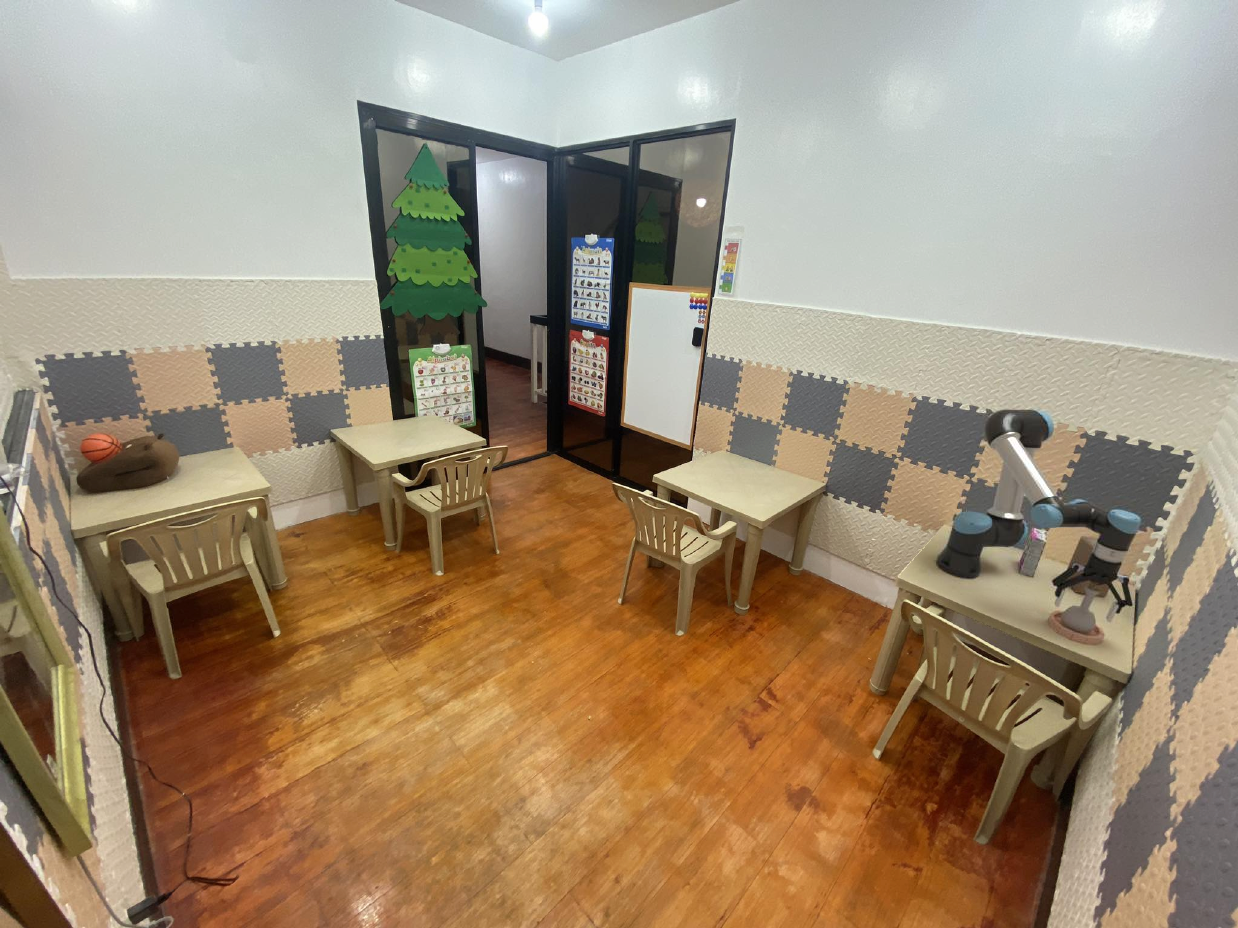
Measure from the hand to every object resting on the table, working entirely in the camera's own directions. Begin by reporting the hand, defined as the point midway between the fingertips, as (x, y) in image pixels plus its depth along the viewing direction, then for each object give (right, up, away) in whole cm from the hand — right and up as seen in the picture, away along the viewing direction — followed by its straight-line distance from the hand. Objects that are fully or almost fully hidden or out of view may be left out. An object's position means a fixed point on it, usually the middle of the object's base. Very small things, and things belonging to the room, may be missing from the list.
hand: (1081, 612), depth 173 cm
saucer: (0, -7, +3) cm, 7 cm away
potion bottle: (0, -6, +2) cm, 7 cm away
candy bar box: (+11, +6, +38) cm, 40 cm away
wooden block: (+25, +1, +27) cm, 37 cm away
